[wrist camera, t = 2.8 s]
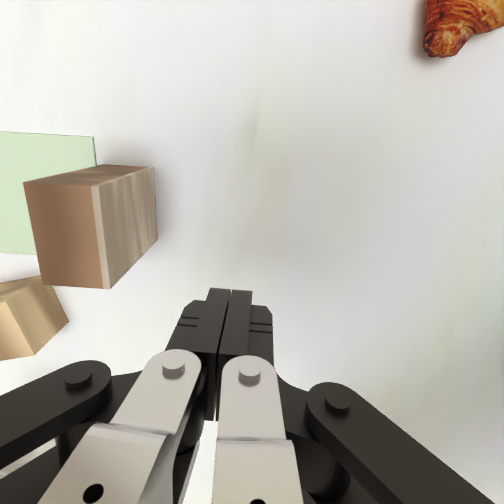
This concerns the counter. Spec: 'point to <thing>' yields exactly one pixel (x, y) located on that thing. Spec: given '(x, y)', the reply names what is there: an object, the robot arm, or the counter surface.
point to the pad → (33, 178)
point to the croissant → (458, 23)
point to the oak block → (28, 317)
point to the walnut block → (92, 223)
